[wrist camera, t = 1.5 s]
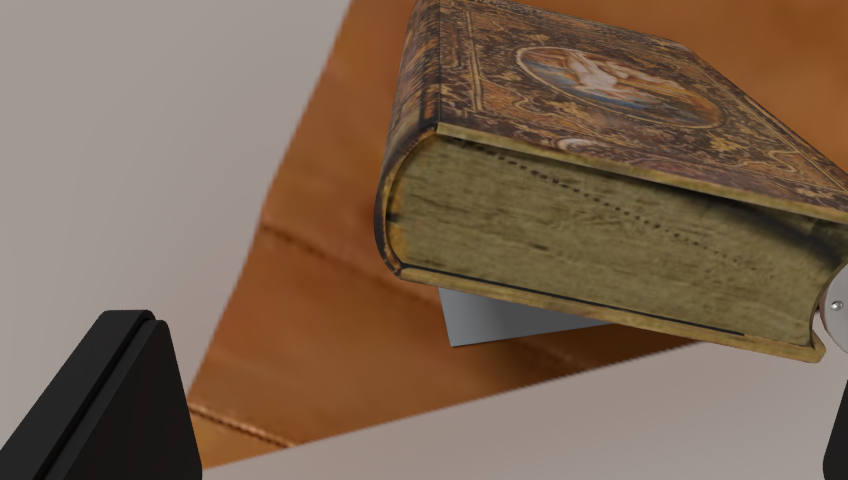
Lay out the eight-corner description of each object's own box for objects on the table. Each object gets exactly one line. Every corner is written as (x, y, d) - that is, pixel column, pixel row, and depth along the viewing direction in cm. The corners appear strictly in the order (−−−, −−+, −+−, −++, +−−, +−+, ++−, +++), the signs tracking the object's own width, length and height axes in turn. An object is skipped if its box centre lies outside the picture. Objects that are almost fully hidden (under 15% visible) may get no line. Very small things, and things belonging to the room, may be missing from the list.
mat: (688, 128, 47) (691, 131, 46) (692, 307, 53) (694, 311, 53) (415, 175, 49) (414, 178, 48) (450, 342, 55) (450, 346, 55)
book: (398, 68, 45) (360, 271, 23) (417, -22, 43) (394, 110, 21) (647, 125, 47) (833, 368, 25) (680, 41, 44) (920, 229, 22)
